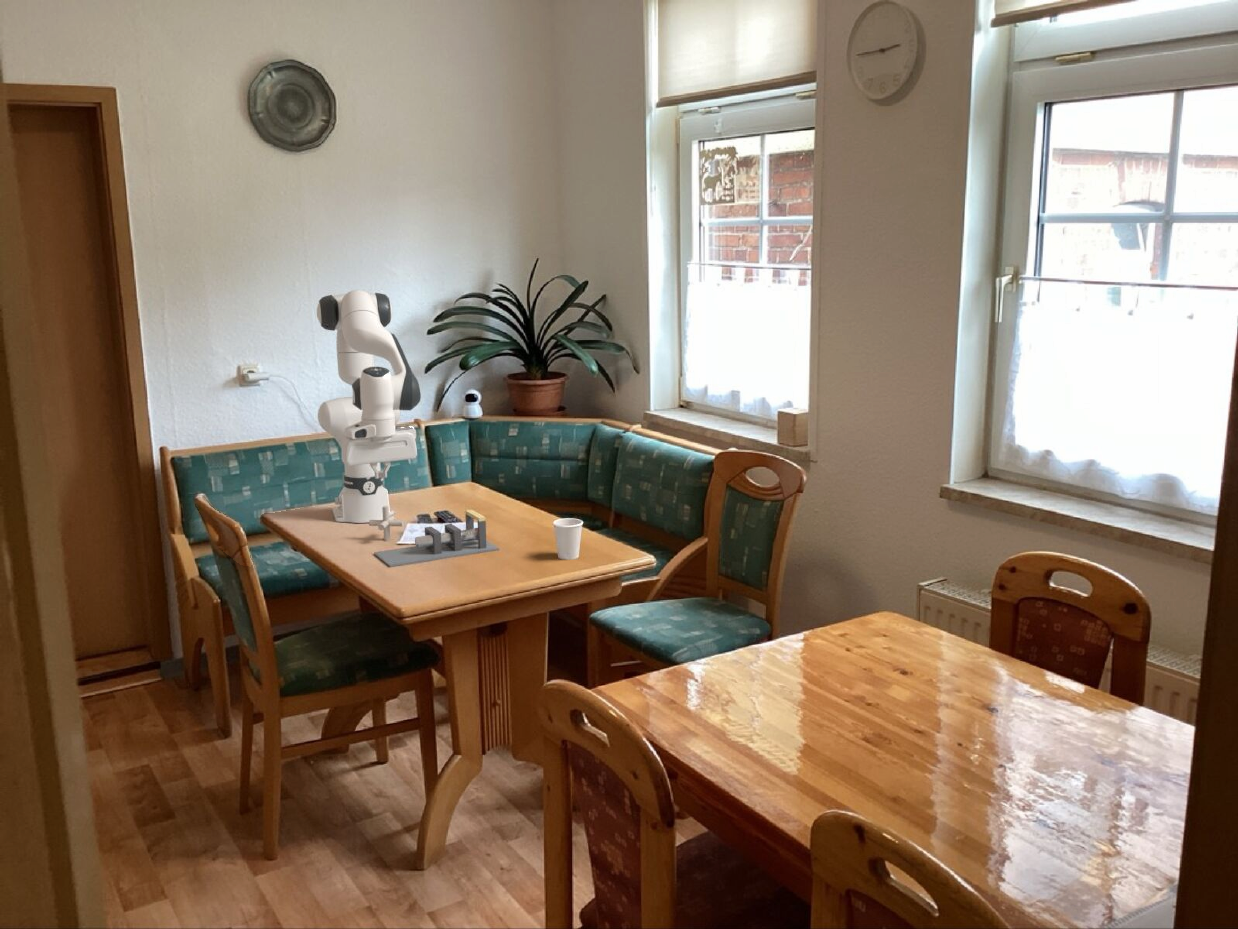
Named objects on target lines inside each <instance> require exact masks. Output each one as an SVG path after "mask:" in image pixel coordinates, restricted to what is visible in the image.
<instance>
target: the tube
mask: <svg viewBox="0 0 1238 929" xmlns="http://www.w3.org/2000/svg"><path fill="white" fill-rule="evenodd" d="M470 540H478V527H474V529H468V530H466V529H463V530H462V529H461V542H464V541H470ZM450 543H453V532H448V533H445V532H441V545H444V544H450ZM414 544H415V545H414V546H416V548H424V547H431V546H433V535H427V536H425V535H421V536H415V538H414Z"/></svg>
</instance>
